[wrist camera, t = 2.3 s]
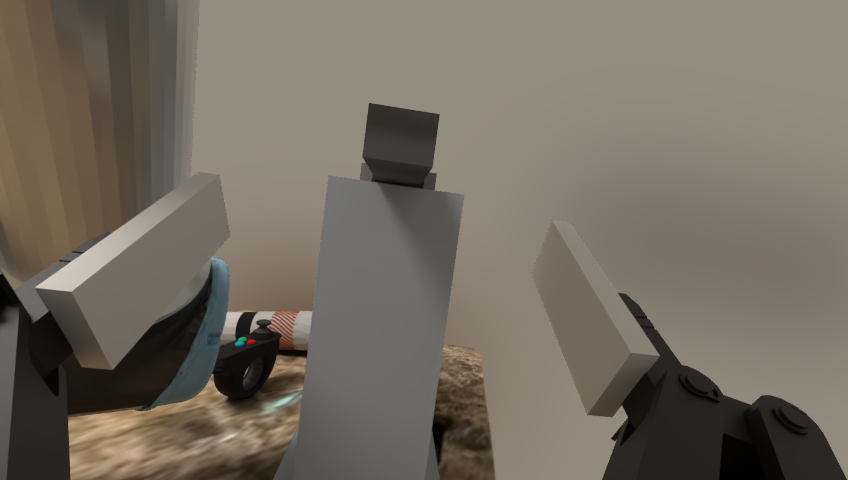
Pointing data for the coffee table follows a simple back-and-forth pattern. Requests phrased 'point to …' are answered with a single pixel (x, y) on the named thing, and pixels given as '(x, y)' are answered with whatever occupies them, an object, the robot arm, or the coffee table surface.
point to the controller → (246, 362)
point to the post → (376, 332)
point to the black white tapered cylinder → (271, 327)
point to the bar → (399, 144)
